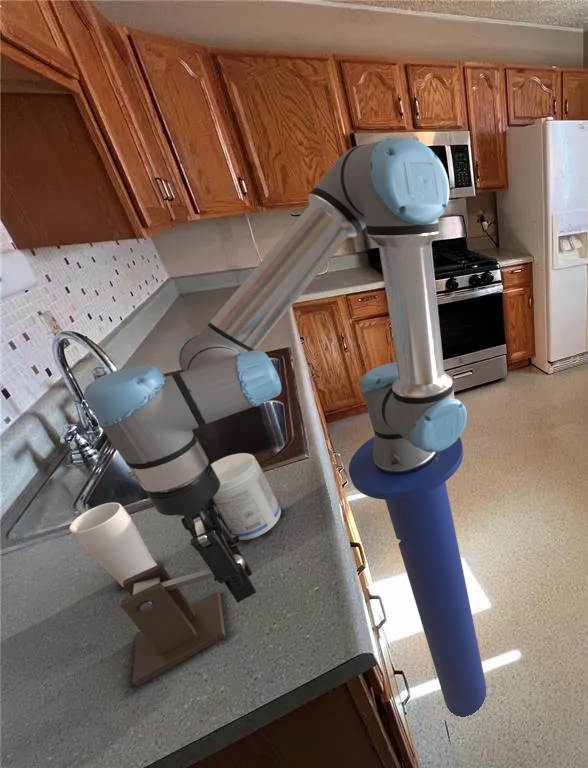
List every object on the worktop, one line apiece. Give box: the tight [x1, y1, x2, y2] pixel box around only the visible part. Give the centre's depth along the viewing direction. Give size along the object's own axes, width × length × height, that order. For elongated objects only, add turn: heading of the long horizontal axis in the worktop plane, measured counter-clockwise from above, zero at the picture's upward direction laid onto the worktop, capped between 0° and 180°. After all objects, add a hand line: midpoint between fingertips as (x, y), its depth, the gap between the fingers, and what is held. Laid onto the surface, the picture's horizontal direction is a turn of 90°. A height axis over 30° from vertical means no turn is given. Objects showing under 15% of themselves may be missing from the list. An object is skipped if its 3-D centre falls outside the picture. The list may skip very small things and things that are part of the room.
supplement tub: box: [210, 452, 282, 541], centre depth 81 cm, size 10×10×15 cm
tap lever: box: [133, 554, 246, 595], centre depth 62 cm, size 13×4×4 cm, turn 127°
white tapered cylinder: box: [68, 501, 158, 589], centre depth 72 cm, size 7×7×15 cm
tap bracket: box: [119, 563, 226, 688], centre depth 61 cm, size 11×9×13 cm
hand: (244, 586), depth 68 cm, fingers closed on tap lever, 4 cm apart
